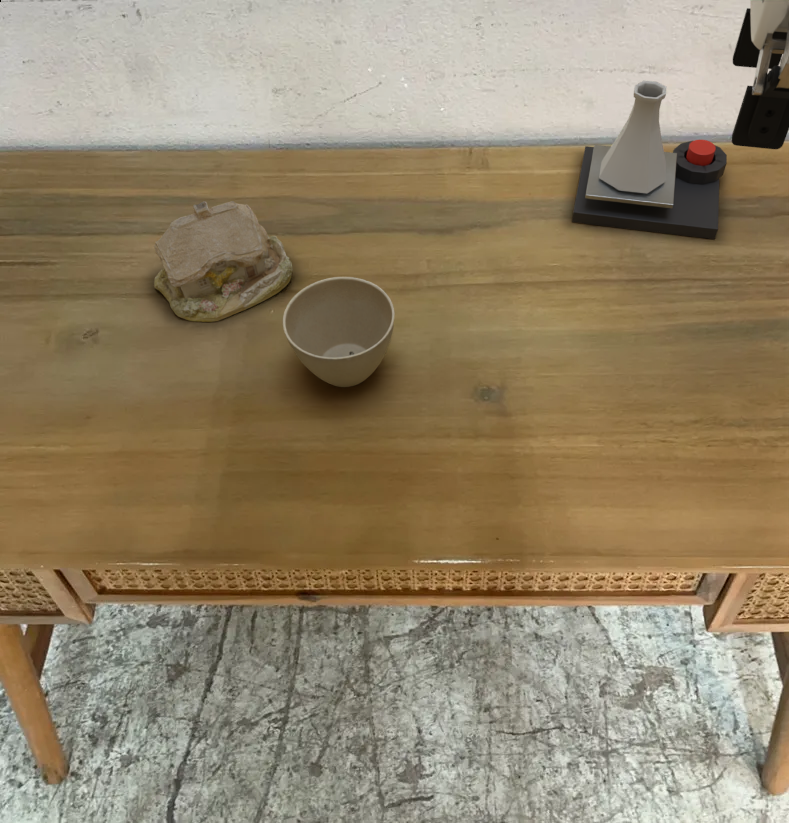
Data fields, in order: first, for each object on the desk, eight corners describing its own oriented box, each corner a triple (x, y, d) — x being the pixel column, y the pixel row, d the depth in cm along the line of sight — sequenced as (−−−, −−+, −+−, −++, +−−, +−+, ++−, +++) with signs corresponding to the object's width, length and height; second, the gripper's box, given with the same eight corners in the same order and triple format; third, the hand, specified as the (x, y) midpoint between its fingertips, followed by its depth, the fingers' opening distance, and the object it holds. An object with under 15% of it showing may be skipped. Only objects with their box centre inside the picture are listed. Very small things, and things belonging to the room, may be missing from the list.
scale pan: (676, 156, 92) (677, 152, 92) (672, 208, 87) (673, 204, 86) (593, 148, 94) (594, 144, 93) (585, 198, 88) (585, 194, 88)
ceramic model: (170, 336, 83) (141, 261, 75) (148, 266, 90) (119, 191, 82) (303, 295, 86) (289, 218, 78) (272, 230, 92) (256, 153, 84)
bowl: (281, 347, 82) (269, 294, 76) (377, 317, 83) (372, 264, 78) (311, 422, 76) (300, 372, 70) (413, 389, 78) (411, 337, 72)
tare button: (712, 152, 93) (716, 140, 91) (711, 168, 91) (715, 156, 90) (686, 150, 93) (689, 138, 92) (685, 165, 92) (688, 153, 90)
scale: (720, 166, 95) (727, 143, 93) (718, 240, 88) (725, 217, 85) (584, 151, 98) (587, 129, 96) (571, 222, 91) (575, 200, 88)
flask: (676, 165, 90) (699, 80, 82) (651, 203, 87) (672, 118, 79) (614, 146, 93) (630, 62, 85) (587, 182, 89) (601, 97, 81)
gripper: (949, -116, 39) (818, 186, 52) (906, -238, 49) (806, 43, 62) (779, -123, 40) (694, 173, 54) (771, -240, 50) (702, 35, 64)
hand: (754, 103), depth 58 cm, fingers open, 9 cm apart
